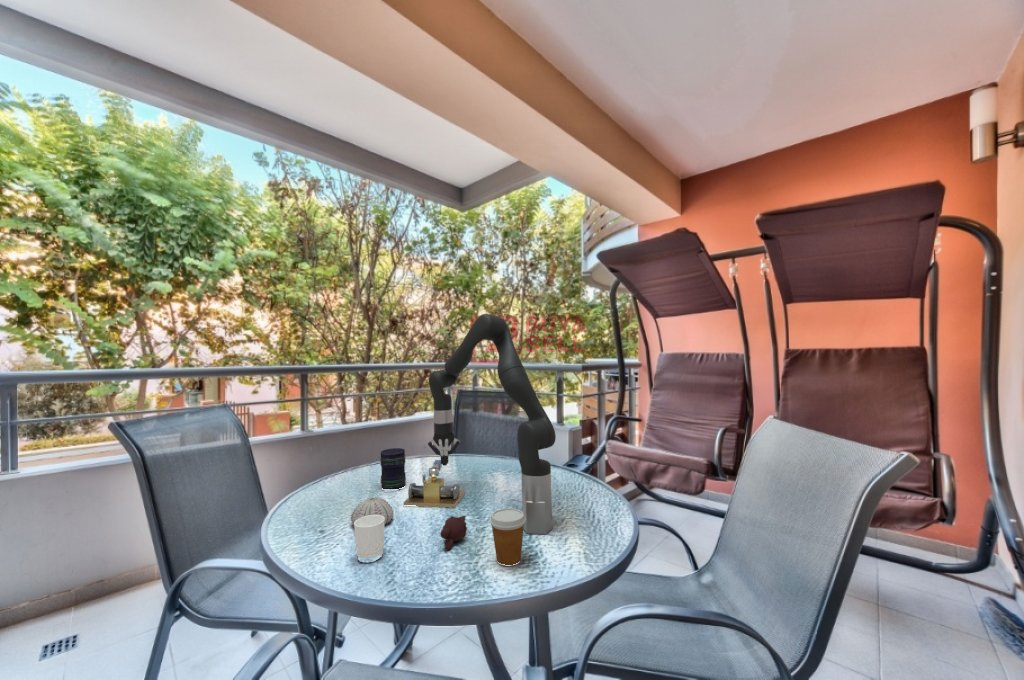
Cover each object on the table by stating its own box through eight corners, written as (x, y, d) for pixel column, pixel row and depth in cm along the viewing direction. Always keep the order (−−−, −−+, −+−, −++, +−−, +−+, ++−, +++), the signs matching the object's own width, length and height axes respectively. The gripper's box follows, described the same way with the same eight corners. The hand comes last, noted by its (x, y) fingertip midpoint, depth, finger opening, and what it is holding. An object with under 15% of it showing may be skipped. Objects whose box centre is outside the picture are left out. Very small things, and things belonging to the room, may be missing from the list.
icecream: (451, 507, 128) (428, 532, 114) (471, 503, 126) (451, 528, 112) (457, 528, 128) (435, 556, 114) (478, 524, 126) (459, 552, 112)
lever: (437, 477, 149) (437, 469, 149) (428, 477, 149) (427, 469, 149) (443, 466, 162) (443, 459, 162) (434, 467, 162) (434, 460, 162)
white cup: (375, 547, 116) (374, 512, 117) (391, 555, 111) (390, 519, 112) (349, 559, 110) (348, 522, 111) (364, 568, 105) (364, 529, 106)
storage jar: (375, 490, 164) (375, 453, 164) (390, 482, 173) (389, 447, 173) (397, 492, 161) (396, 454, 161) (410, 484, 170) (409, 448, 170)
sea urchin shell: (368, 513, 142) (368, 490, 142) (402, 517, 137) (401, 493, 138) (341, 529, 129) (341, 504, 129) (378, 534, 125) (377, 508, 125)
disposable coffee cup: (483, 561, 107) (482, 515, 108) (509, 547, 114) (508, 504, 114) (508, 574, 101) (507, 525, 101) (534, 559, 107) (532, 514, 108)
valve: (454, 508, 144) (453, 478, 144) (403, 506, 146) (402, 477, 147) (464, 493, 157) (464, 466, 158) (418, 492, 160) (417, 465, 160)
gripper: (424, 423, 156) (426, 468, 156) (459, 422, 157) (460, 467, 156) (428, 419, 164) (429, 463, 163) (460, 418, 164) (462, 461, 164)
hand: (444, 464), depth 160 cm, fingers closed
